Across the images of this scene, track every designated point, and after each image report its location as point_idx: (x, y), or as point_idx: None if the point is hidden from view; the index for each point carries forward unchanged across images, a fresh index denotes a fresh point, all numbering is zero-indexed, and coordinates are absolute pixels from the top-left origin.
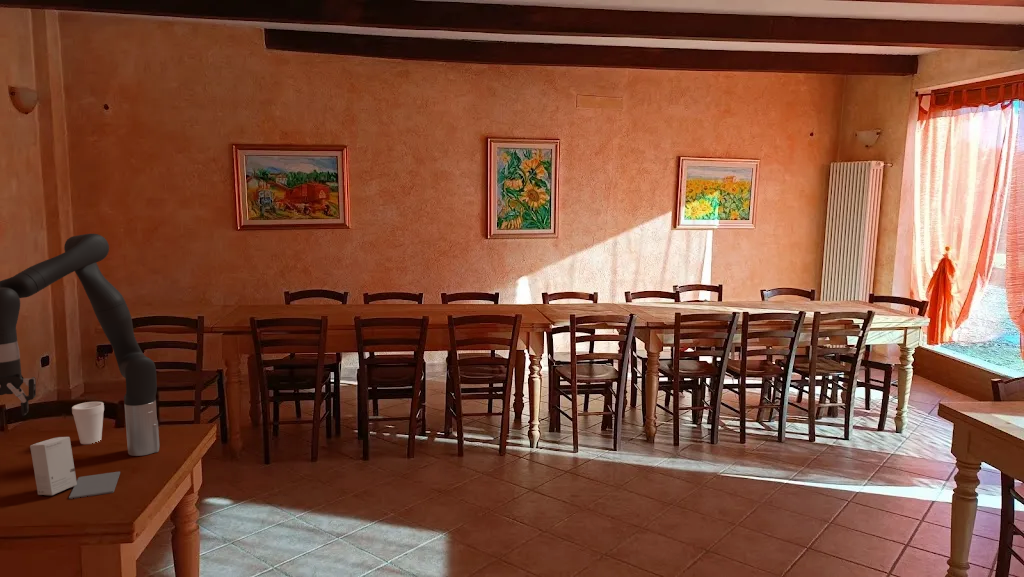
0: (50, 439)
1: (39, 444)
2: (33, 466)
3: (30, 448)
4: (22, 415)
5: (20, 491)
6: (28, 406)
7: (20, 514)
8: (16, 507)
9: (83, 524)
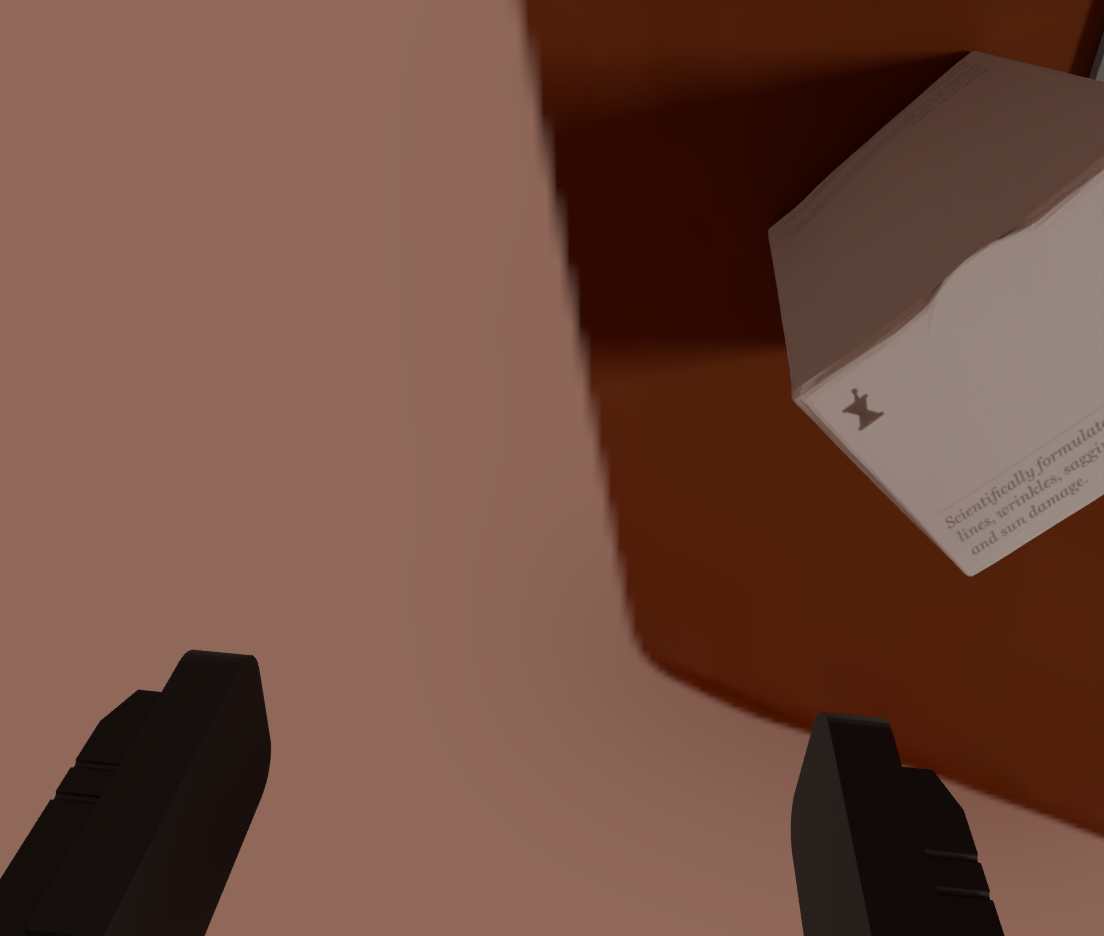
0: (1077, 262)
1: (913, 484)
2: (780, 305)
3: (792, 384)
4: (799, 810)
5: (618, 42)
6: (987, 911)
7: (677, 528)
8: (637, 401)
9: (998, 793)
